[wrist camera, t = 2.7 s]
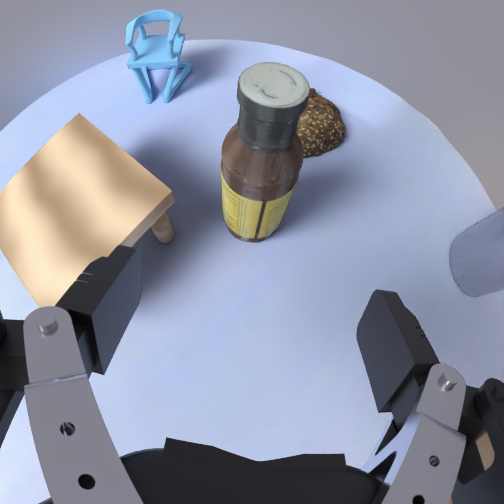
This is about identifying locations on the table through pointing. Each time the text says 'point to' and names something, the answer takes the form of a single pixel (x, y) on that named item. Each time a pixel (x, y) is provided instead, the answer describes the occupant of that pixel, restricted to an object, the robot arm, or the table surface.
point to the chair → (157, 52)
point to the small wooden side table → (77, 209)
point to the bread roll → (320, 126)
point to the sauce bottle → (263, 150)
